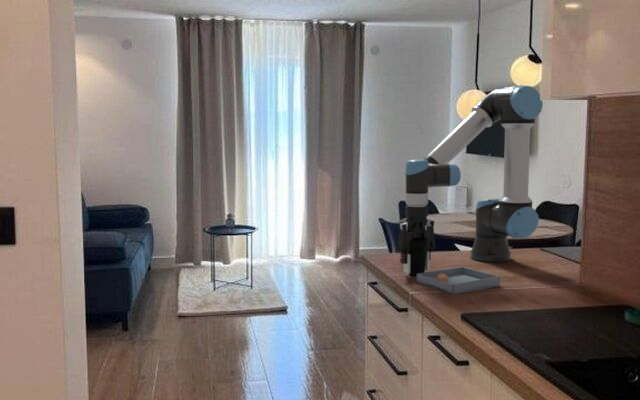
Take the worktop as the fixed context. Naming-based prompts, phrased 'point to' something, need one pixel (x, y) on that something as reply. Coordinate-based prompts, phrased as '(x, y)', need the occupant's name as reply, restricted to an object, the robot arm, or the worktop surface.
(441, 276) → the ball
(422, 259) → the cup
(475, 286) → the tray
